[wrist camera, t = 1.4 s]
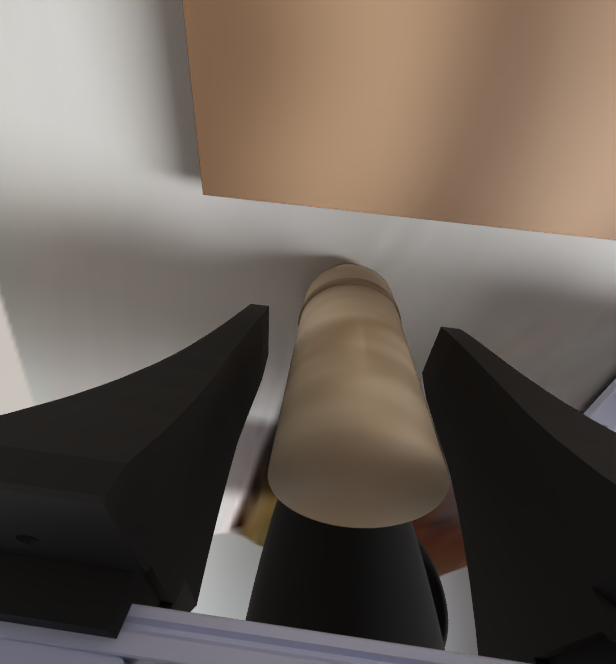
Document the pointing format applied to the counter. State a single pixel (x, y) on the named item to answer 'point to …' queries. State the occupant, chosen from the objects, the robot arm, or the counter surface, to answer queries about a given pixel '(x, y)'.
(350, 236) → the counter surface
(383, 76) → the board
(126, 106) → the counter surface
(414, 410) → the peg
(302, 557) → the mug
